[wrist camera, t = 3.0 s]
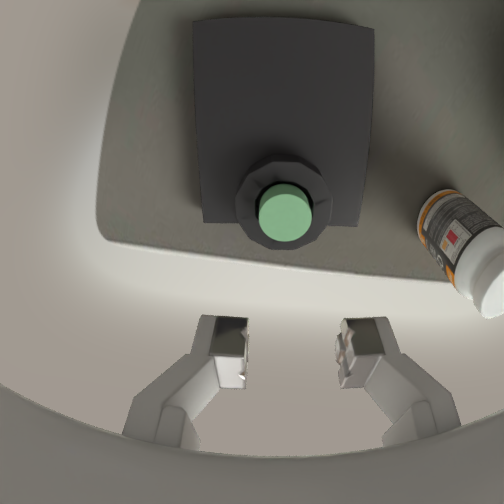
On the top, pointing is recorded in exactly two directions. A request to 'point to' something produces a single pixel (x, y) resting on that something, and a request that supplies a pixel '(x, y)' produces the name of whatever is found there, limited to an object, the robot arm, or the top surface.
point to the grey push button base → (282, 118)
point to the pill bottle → (465, 248)
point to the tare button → (284, 212)
